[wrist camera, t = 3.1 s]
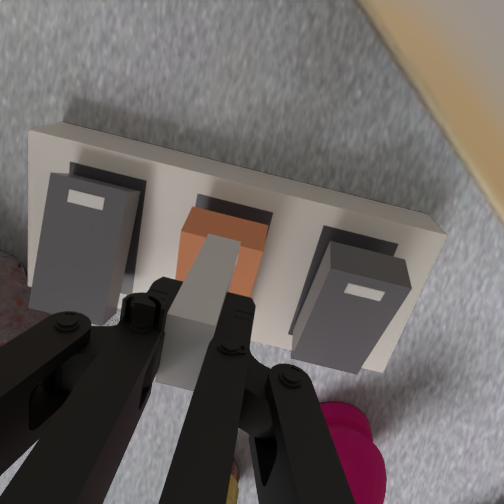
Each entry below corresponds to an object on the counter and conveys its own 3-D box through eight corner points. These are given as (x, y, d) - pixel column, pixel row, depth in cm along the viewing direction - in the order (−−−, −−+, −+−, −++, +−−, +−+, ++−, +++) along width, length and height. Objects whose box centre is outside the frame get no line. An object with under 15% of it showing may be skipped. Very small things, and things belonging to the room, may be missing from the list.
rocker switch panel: (56, 262, 33) (27, 286, 29) (62, 121, 28) (28, 129, 24) (372, 339, 33) (382, 373, 29) (427, 214, 29) (447, 235, 25)
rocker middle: (179, 301, 28) (169, 329, 26) (192, 206, 23) (180, 231, 21) (242, 317, 28) (236, 345, 26) (268, 225, 23) (263, 252, 21)
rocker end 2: (293, 329, 28) (290, 359, 26) (330, 240, 23) (330, 269, 21) (354, 345, 28) (356, 375, 26) (405, 259, 23) (412, 289, 21)
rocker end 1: (49, 296, 26) (27, 308, 24) (70, 173, 25) (50, 172, 23) (116, 313, 26) (101, 326, 24) (140, 191, 25) (127, 191, 23)
